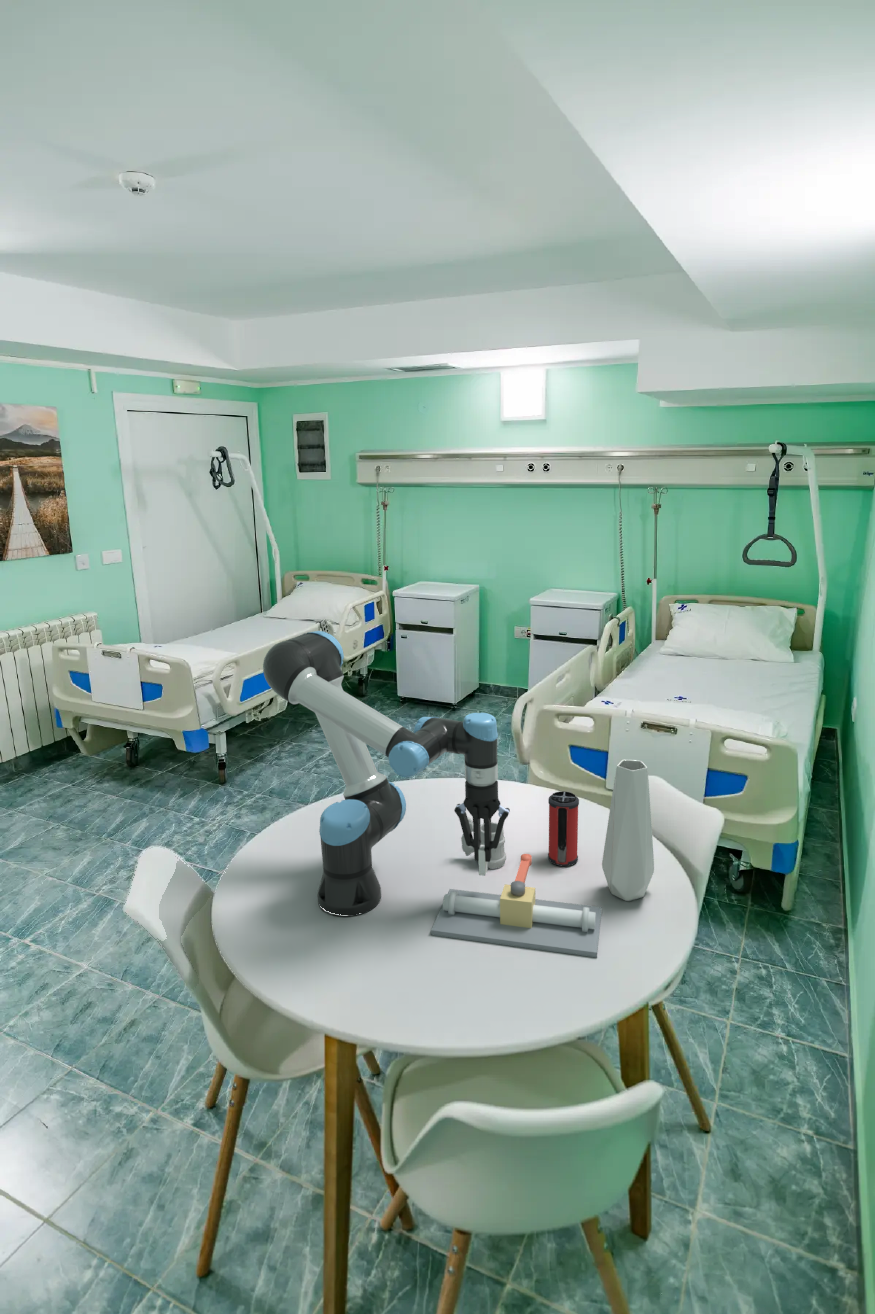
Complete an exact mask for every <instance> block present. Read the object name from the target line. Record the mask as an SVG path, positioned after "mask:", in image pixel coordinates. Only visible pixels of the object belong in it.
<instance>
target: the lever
mask: <svg viewBox="0 0 875 1314" xmlns="http://www.w3.org/2000/svg"><path fill="white" fill-rule="evenodd" d="M532 863H533V859H532V855H531V854H529V853H523V854H521V855H520V863H519V867H518V869H517V873H516V876H515V880H514V881H512V882H510V885H511V894H513V895H515V896H522V895H524V894H525V887H526V880H527V877H528V872H529V870H530V867H531V866H532Z"/></svg>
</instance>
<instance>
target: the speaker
mask: <svg viewBox="0 0 875 1314" xmlns="http://www.w3.org/2000/svg"><path fill="white" fill-rule="evenodd" d="M547 800H548V852H547V859H548V861H549V862H550V863H551V864H552V865H554V866H560V867H569V866H570V867H571V866H572V865H574V864H576V863H577V862H578V861H579V855H578V842H579V841H578V840H579V839H578V835H579V831H578V829H579V827H578V826H579V805H580V799H579V798H578V796H576V794H575V793H572V792H570V791H564V790H563V791H562V790H561V791H560V790H559V791H555V792H554V793H552V794H551V795H550V796H549V797H548V798H547Z"/></svg>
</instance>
